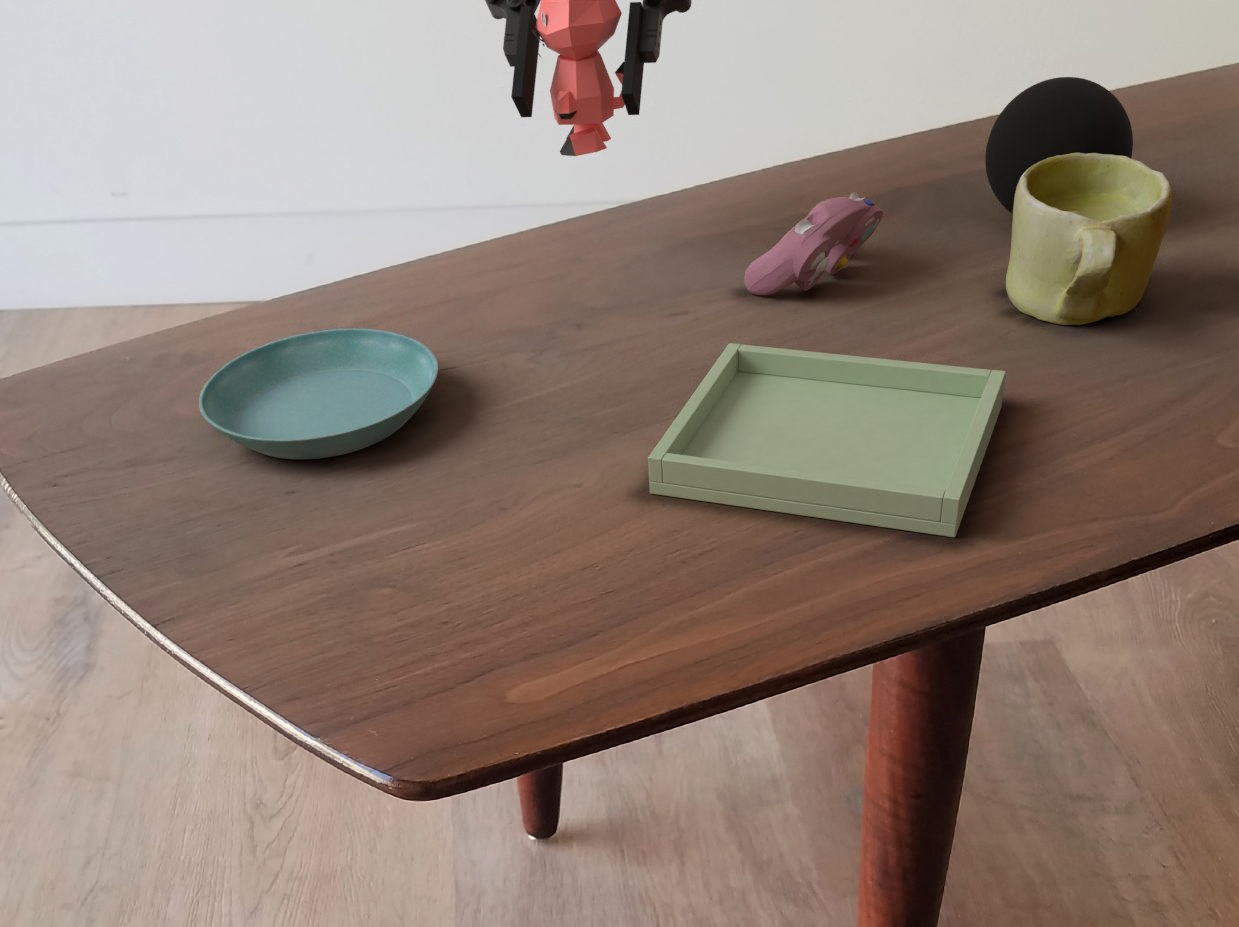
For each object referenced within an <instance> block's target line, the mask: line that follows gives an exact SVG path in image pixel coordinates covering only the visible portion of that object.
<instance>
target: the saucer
mask: <svg viewBox="0 0 1239 927" xmlns="http://www.w3.org/2000/svg"><path fill="white" fill-rule="evenodd" d="M438 362H439V361H438V359H437V357H436V355H435V353H434V352H433V351H432V350H431V348H429V347H428V346H427V345H426V344H423V342H421V341H419V340H417V339H415V338H413V337H410V336H407V335H406V334H405V335H403V334H401V333H400V334H399V333H398V332H393V331H389V330H383V329H376V328H375V329H374V328H373V329H371V328H361V327H360V328H359V327H354V328H353V327H352V328H331V329H323V330H319V331H310V332H304V333H299V334H295V335H290V336H286V337H284V338H280V339H278V340H274V341H271V342H268V343H266V344H263V345H260V346H257V347H254V348H253V349H251V350H249V351H246V352H243V353H242V354H240V355H238V356H237V357H235V358H233V359H231V360H230V361H228V362H227V363H225V364H224V365H223V366H222V367H220V368H219V369H218V370H217V371H216V372H214V373H213V375H211V377H209V379H208V380H207V381H206V383H205V384H204V385H203V388H201V391H200V395H199V398H198V408H199V411H200V413H201V415H202V417H203V419H204V420H206V422H207V423H209V424H210V425H211V426H212V427H213V429H215V430H217V431H218V432H220V434H222V435H223V436H225V437H226V438H227V439H230V440H231V441H233V442H234V443H237V444H239V445H241V446H243V447H245V448H247V449H248V450H249V449H250V450H253V451H254V452H256V453H260V454H262V455H265V456H268V457H273V458H278V459H286V460H316V459H317V460H320V459H328V458H332V457H337V456H338V457H339V456H344V455H346V454H350V453H354V452H357V451H360V450H363V449H365V448H368V447H370V446H373V445H375V444H377V443H379V442H381V441H383V440H385V439H387V438H388V437H391V435H393V434H395V433H396V432H397V431H398V430H399V429H401V428H402V427H403V426H404V425H405V424H406V423H407V422H408V421H409V420H410V419H411V418H412V417H413V416H414V414H416V412H418V410H419V408H420V407H422V405H423V403H424V402H425V401H426V399H427V397H428V396H429V394H430V392H431V390H432V388H433V387H434V384H435V382H436V380H437V378H438V374H439V363H438Z"/></svg>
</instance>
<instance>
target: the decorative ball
mask: <svg viewBox="0 0 1239 927" xmlns="http://www.w3.org/2000/svg"><path fill="white" fill-rule="evenodd" d="M1133 137H1134V135H1133V128H1132V124H1131V121H1130V118H1129V116H1128V113H1127V111H1126V109H1125V107H1124V106H1123V104H1122V103H1121V102H1120V100H1119V99H1118V98H1117V97H1116V95H1114V93H1112V92H1111V91H1110V90H1108V89H1107V88H1106V87H1104V86H1102V85H1101V84H1099V83H1097V82H1096V81H1092V80H1089V79H1086V78H1082V77H1077V76H1076V77H1075V76H1074V77H1073V76H1060V77H1054V78H1048V79H1044V80H1042V81H1039V82H1037V83H1035V84H1032V85H1031V86H1029V87H1028V88H1027V87H1026V88H1025V89H1023V90H1022V91H1021V92H1020V93H1019V94H1017V95H1016V96H1015V97H1013V98H1012V100H1011V101H1009V102H1008V103H1007V105H1006V106H1005V107H1004V108H1003V109H1002V111H1001V112H1000V113H999V115H998V117H997V118H996V119H995V121H994V124H993V126H992V128H991V130H990V132H989V135H988V139H987V143H986V146H985V147H986V148H985V158H984V159H985V160H984V161H985V171H986V177H987V180H988V184H989V186H990V189H991V191H992V193H993V194H994V196H995V198H996V199H997V201H998V202H999V203H1000V204H1001V205H1002V207H1003V208H1004V209H1006V211H1008V212H1009V213H1010V214H1012V215H1013V207H1014V197H1015V192H1016V188H1017V185H1018V182H1019V180H1020V178H1021V176H1022V175H1023V174H1024V172H1025V171H1026V170H1027V169H1028V168H1030V167H1031V166H1032V165H1034V164H1036V163H1038V162H1040V161H1042V160H1045V159H1047V158H1050V157H1054V156H1057V155H1066V154H1071V153H1084V154H1088V153H1099V154H1111V155H1117V156H1126V157H1129V158H1131V159H1133V158H1132V157H1133V151H1134V150H1133V149H1134V138H1133Z"/></svg>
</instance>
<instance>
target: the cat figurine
mask: <svg viewBox="0 0 1239 927" xmlns="http://www.w3.org/2000/svg"><path fill="white" fill-rule="evenodd" d="M622 14H623V13H622V10H621V8H620V7H619V4H618V3H617V0H541V1H540V3H539V8H538V12H537V16H536V19H537V21H536V26H535V29H536V30H537V32H538V34H539V35H540V38H539V37H538V36H537V35H536V33H535V30H534V29H533V30H532V33H533V34H534V35H535V36H536V38H537V39H538V40H540V42H541V44H542V46H543V47H546V48H547V49H549V50H551V51H553V52H555V53H556V54H558V55H557V59H556V62H555V67H554V72H553V76H552V80H551V84H550V88H549V94H550V101H551V108H552V111H553V118H554V120H555V121H556V123H557V124H558V126H572V127H571V129H570V131H569V133H568V134H567V136H566V139H565V141H564V143H563V144H562V146H561V148H560V150H559V153H560V155H561V156H567V157H568V156H569V157H578V156H583V155H588V154H594V153H598V152H601V151H603V150H607V149H608V147H607V145H606V144H605V142H606V143H607V142H609V141H610V140H611V139H612V137H611V136H610V134H609V132H608V129H606V126H605V125H604V123H605V122H606V121H608V120H610V119H611V118H612V117H614V116H615V114H614V113H615V112H614V110H619V109H624V107H625V104H624V101H623V98H622V95H621V92H622V89H621V90H620V94H619V96H615V87H614V85H613V82H612V79H611V77H610V75H609V71H608V70H607V68H606V64H605V62H604V59H603V57H602V54H601V53H600V51H599V50H600V49H601V48H602V47H603V46H604V45H605V44H606V43H607V42H608V41H609V40H610V39H611V38H612V37H613V36H614V35H615V33H616V31H617V27H618V25H619V22H620V19H621V16H622ZM537 46H538V45H537ZM538 57H540V58H542V56H541V54H540V53H539V52H538ZM623 71H624V61H622V63H621V64H620V65H619V66H618V68H616V69H615V72H614V74H615V76H616V77H617V79H618V81H619V83H620V84H621V85H622V82H623Z"/></svg>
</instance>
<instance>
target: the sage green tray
mask: <svg viewBox="0 0 1239 927" xmlns="http://www.w3.org/2000/svg"><path fill="white" fill-rule="evenodd" d="M722 351H723V352H722V353H721V354H720V356H718V358H717V359H716V361H715V363H714V364H713V365H712V366H711V368H710V369H709V371H708V372H707V374H706V375H705V376H704V378H703V379H702V380H701V382H700V383H699V385H698V386H697V388H696V389H695V391H694V392H693V393H692V394H691V397H690V398H689V399H688V400H687V402H686V403H685V404H684V405H683V408H682V409H681V410H680V412H679V413H678V414H677V416H676V417H675V418H674V420H673V422H672V423H671V424H670V426H669V427H668V429H667V430H666V431H665V433H664V434H663V435H662V437H661V438H660V440H659V441H658V443H657V444H656V446H655V447H654V448H653V450H652V451H651V452H650V453H649V455H648V456H647V463H648V465H647V467H648V481H649V482H648V483H649V484H648V485H649V494H650V495H657V496H665V497H671V498H679V499H686V500H693V501H699V502H700V501H701V502H708V503H713V504H721V505H728V506H734V507H741V508H746V509H753V510H763V511H768V512H775V513H783V514H790V515H795V516H802V517H810V518H817V519H825V520H831V521H837V522H844V523H852V524H858V525H865V526H872V527H879V528H887V529H893V530H899V531H906V532H907V531H908V532H914V533H922V534H926V535H927V534H929V535H935V536H942V537H948V538H956V536H957V533H958V531H959V528H960V525H961V522H962V519H963V517H964V514H965V511H966V509H967V504H968V502H969V499H970V497H971V494H972V491H973V488H974V486H975V483H976V480H977V477H978V474H979V471H980V469H981V465H982V463H983V460H984V458H985V454H986V452H987V449H988V446H989V444H990V440H991V439H992V438H991V437H992V435H993V432H994V429H995V427H996V423H997V420H998V417H999V415H1000V412H1001V409H1002V406H1003V398H1004V396H1003V395H1004V391H1005V384H1006V383H1005V382H1006V374H1007V371H1006V370H998V369H986V368H977V367H966V366H958V365H957V366H956V365H948V364H947V365H946V364H937V363H928V362H918V361H917V362H916V361H907V360H898V359H889V358H879V357H878V358H877V357H869V356H860V355H859V356H858V355H850V354H839V353H830V352H829V353H828V352H820V351H819V352H818V351H810V350H800V349H792V348H791V349H789V348H780V347H770V346H761V345H753V344H752V345H750V344H741V343H733V342H729V343H728V344H727V345H726V347H725V349H724V350H722Z"/></svg>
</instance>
